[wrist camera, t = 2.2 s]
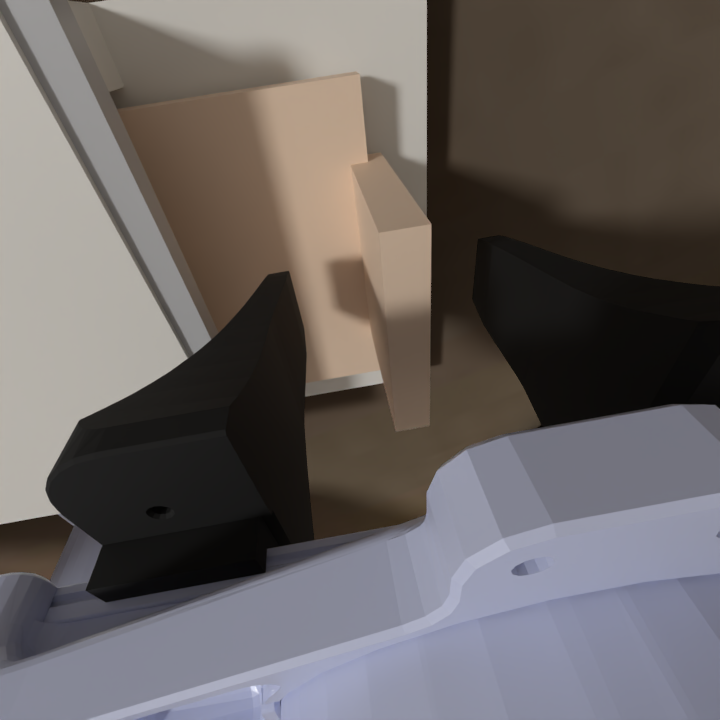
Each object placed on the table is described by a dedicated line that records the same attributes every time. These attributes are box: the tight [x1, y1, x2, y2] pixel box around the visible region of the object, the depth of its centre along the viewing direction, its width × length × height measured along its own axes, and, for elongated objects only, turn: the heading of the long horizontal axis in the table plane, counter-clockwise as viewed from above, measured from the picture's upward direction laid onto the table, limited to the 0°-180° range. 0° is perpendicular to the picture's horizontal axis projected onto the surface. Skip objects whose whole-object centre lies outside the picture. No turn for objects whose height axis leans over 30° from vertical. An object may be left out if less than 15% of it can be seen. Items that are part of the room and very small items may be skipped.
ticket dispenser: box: [0, 0, 427, 524], centre depth 12 cm, size 14×20×5 cm
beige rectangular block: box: [117, 71, 431, 432], centre depth 11 cm, size 10×16×6 cm, turn 97°
